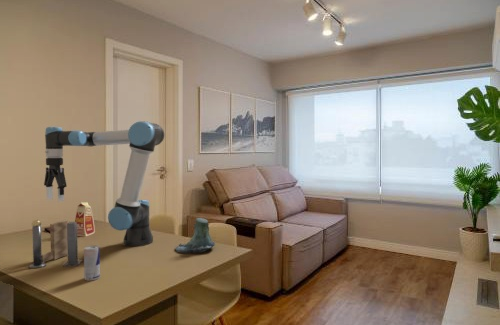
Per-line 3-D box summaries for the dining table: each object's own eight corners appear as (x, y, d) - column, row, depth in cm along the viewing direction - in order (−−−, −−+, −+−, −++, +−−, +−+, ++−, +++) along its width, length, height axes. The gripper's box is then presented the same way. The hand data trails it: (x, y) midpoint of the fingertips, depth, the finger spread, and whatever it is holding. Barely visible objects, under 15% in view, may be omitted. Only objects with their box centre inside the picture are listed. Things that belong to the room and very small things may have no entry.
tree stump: (191, 242, 179) (198, 211, 177) (220, 257, 169) (228, 223, 167) (166, 249, 163) (174, 214, 161) (197, 266, 153) (205, 229, 151)
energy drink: (102, 275, 130) (101, 245, 130) (96, 280, 125) (95, 249, 124) (88, 275, 130) (87, 245, 129) (81, 281, 124) (81, 249, 124)
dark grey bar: (62, 266, 141) (61, 224, 140) (68, 262, 147) (67, 221, 146) (78, 265, 142) (77, 223, 141) (82, 261, 148) (81, 221, 147)
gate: (43, 264, 143) (42, 227, 143) (39, 263, 144) (38, 227, 143) (68, 254, 157) (67, 220, 157) (64, 254, 157) (64, 220, 157)
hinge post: (49, 263, 145) (47, 218, 144) (39, 268, 139) (38, 221, 138) (35, 263, 145) (34, 218, 144) (25, 268, 139) (24, 221, 138)
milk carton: (86, 236, 193) (85, 202, 192) (72, 235, 195) (71, 201, 194) (96, 232, 202) (95, 199, 201) (82, 232, 204) (82, 199, 203)
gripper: (35, 157, 172) (36, 199, 173) (58, 157, 159) (59, 203, 160) (51, 157, 179) (52, 197, 179) (73, 157, 165) (74, 201, 166)
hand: (55, 200), depth 169 cm, fingers open, 11 cm apart
